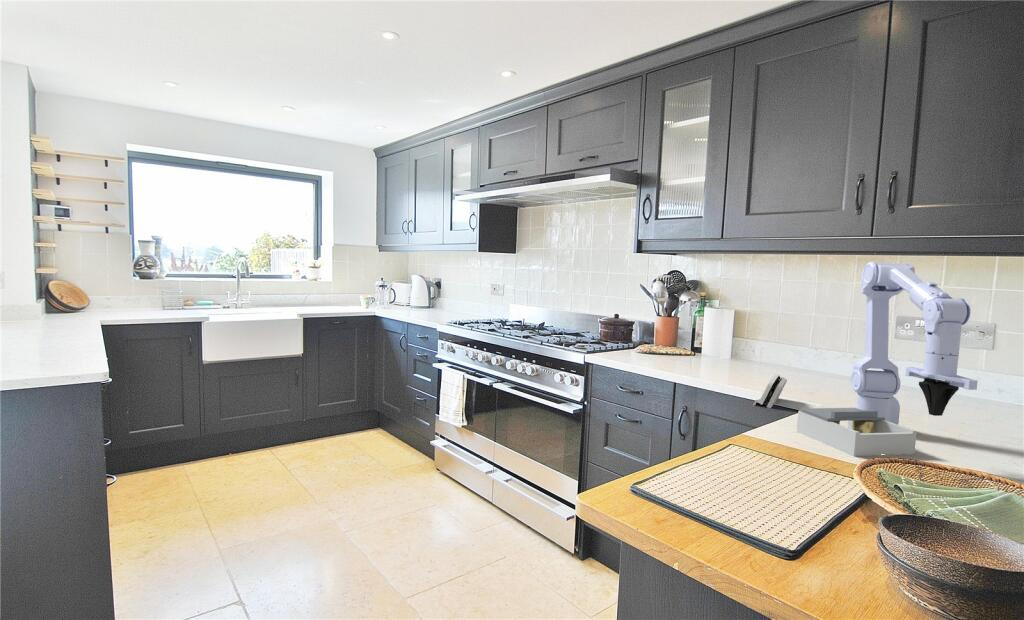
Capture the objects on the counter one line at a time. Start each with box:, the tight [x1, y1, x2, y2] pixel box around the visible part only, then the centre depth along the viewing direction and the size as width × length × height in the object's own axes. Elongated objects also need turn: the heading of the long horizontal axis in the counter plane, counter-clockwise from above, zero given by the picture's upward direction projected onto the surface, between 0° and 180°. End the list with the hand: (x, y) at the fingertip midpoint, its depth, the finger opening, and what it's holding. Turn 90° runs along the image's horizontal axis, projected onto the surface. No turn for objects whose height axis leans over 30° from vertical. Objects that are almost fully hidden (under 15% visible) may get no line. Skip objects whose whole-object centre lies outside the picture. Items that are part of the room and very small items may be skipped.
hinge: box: [752, 373, 788, 409], centre depth 168 cm, size 17×5×10 cm, turn 147°
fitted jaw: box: [852, 420, 874, 433], centre depth 132 cm, size 4×4×5 cm
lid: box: [799, 407, 885, 422], centre depth 133 cm, size 16×9×2 cm, turn 101°
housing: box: [796, 410, 917, 457], centre depth 129 cm, size 16×18×6 cm
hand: (935, 414), depth 118 cm, fingers closed
